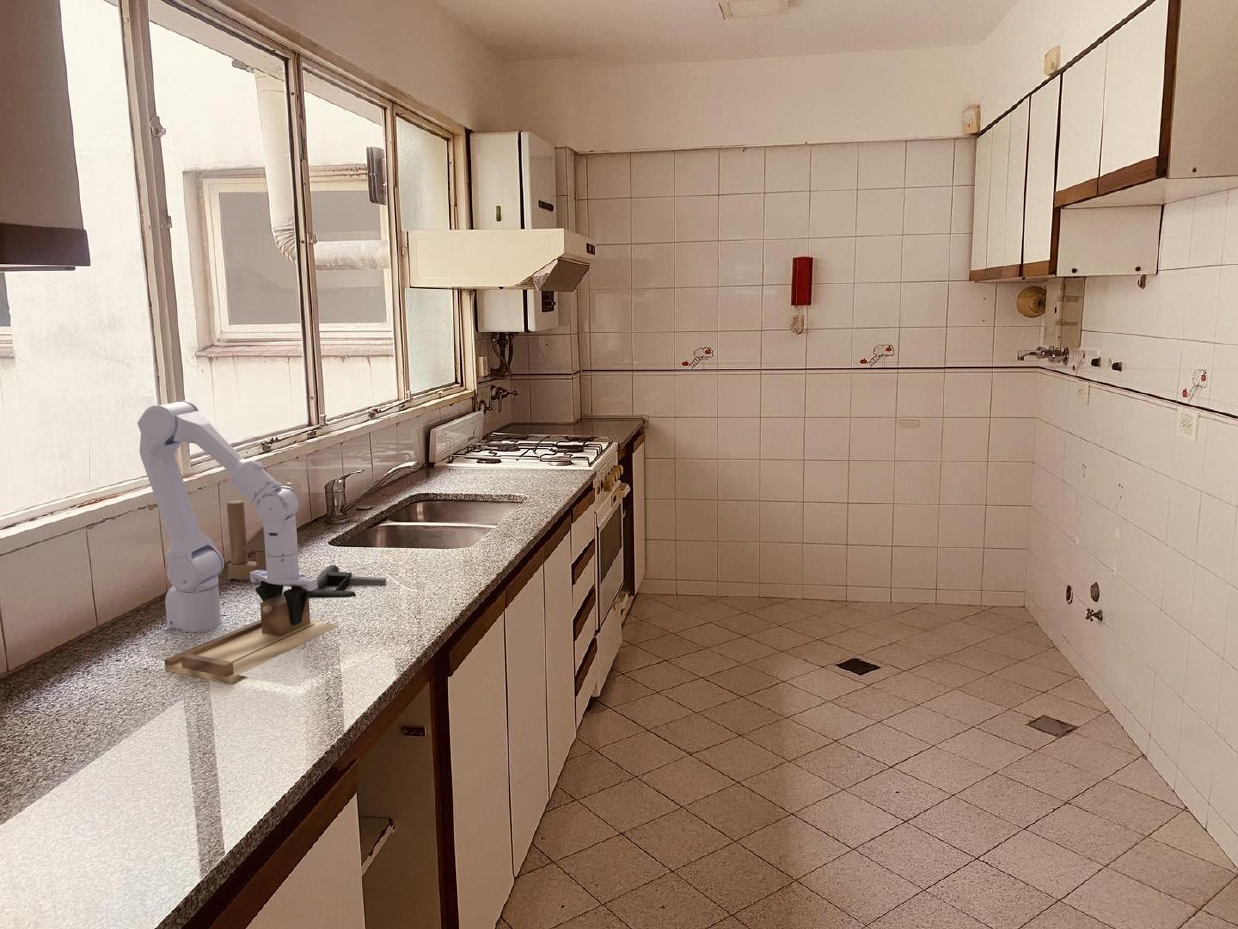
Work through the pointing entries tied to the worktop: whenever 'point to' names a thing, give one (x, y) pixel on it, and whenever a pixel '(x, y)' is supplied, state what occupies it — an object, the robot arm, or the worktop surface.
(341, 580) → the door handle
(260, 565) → the wooden block
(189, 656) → the board
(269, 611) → the block with white pegs
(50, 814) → the worktop surface
